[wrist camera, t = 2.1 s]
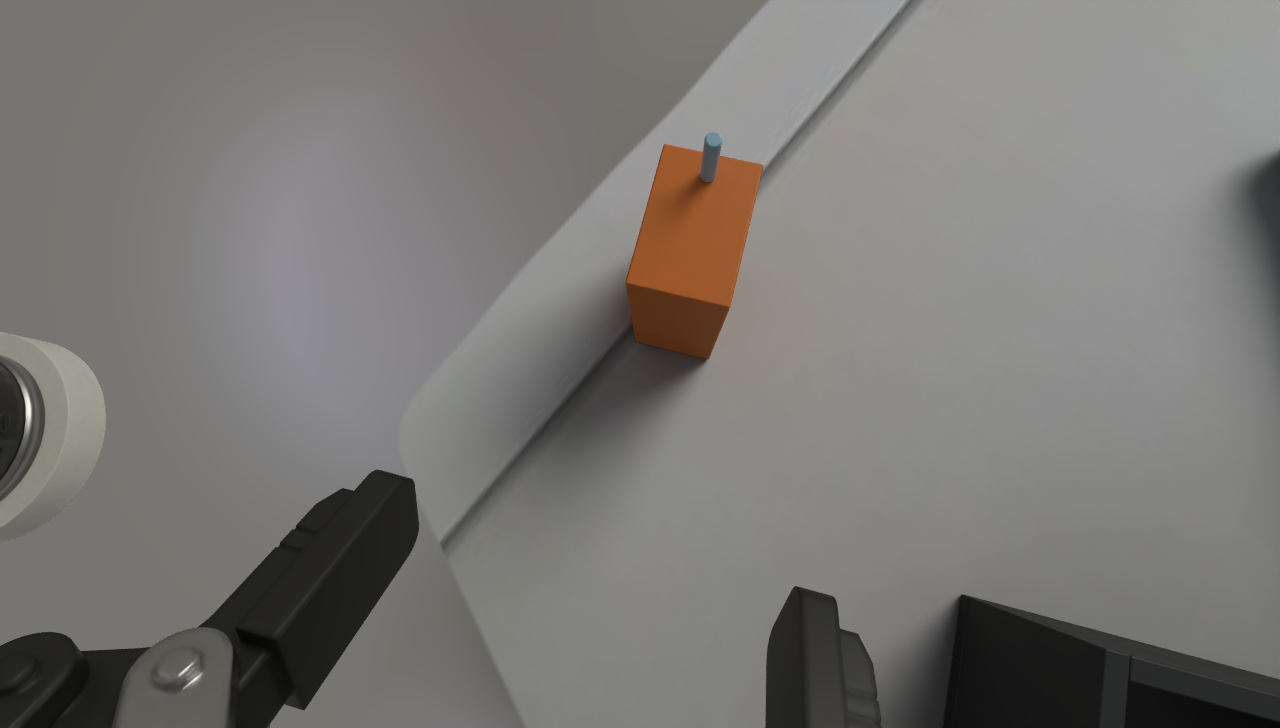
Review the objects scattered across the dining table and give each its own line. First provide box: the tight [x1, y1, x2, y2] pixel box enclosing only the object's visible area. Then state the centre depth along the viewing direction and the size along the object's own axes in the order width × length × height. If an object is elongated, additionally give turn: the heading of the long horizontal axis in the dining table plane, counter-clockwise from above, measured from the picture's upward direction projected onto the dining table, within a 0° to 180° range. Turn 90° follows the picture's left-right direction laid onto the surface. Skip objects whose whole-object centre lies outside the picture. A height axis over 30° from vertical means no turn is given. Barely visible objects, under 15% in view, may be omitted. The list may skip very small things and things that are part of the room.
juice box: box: [626, 132, 763, 359], centre depth 24 cm, size 4×6×11 cm, turn 166°
